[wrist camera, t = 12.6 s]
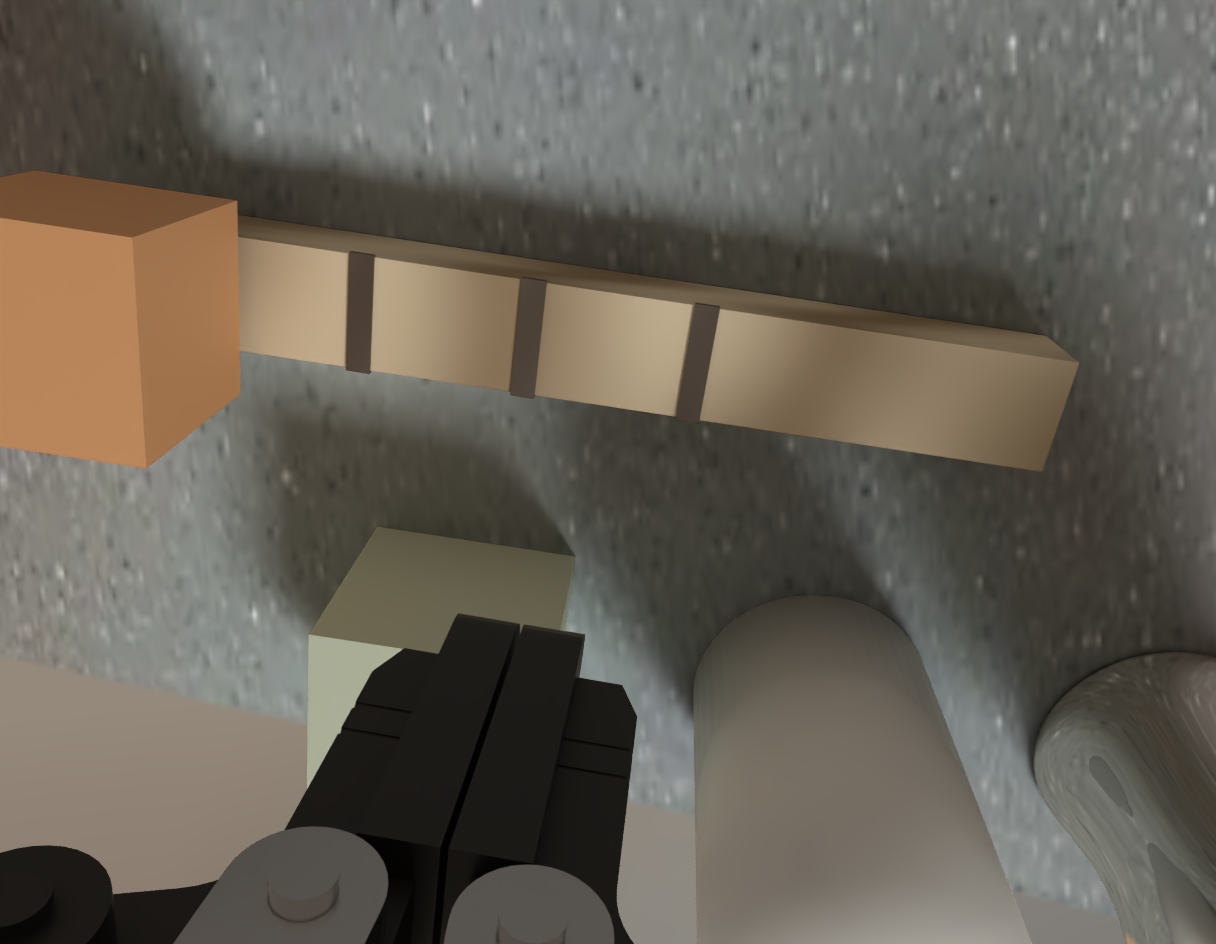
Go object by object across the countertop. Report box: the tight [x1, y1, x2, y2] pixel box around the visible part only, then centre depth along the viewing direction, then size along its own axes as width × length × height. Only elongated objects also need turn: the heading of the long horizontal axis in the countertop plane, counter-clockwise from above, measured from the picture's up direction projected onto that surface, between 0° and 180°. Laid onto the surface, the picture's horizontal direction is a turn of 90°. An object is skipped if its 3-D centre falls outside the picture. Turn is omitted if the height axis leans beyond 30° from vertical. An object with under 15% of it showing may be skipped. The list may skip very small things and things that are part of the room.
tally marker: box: [0, 170, 241, 468], centre depth 18 cm, size 4×4×4 cm
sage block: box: [307, 527, 575, 789], centre depth 23 cm, size 5×5×5 cm
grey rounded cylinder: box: [693, 595, 1032, 944], centre depth 22 cm, size 6×6×9 cm
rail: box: [238, 215, 1079, 472], centre depth 21 cm, size 22×2×2 cm, turn 82°
